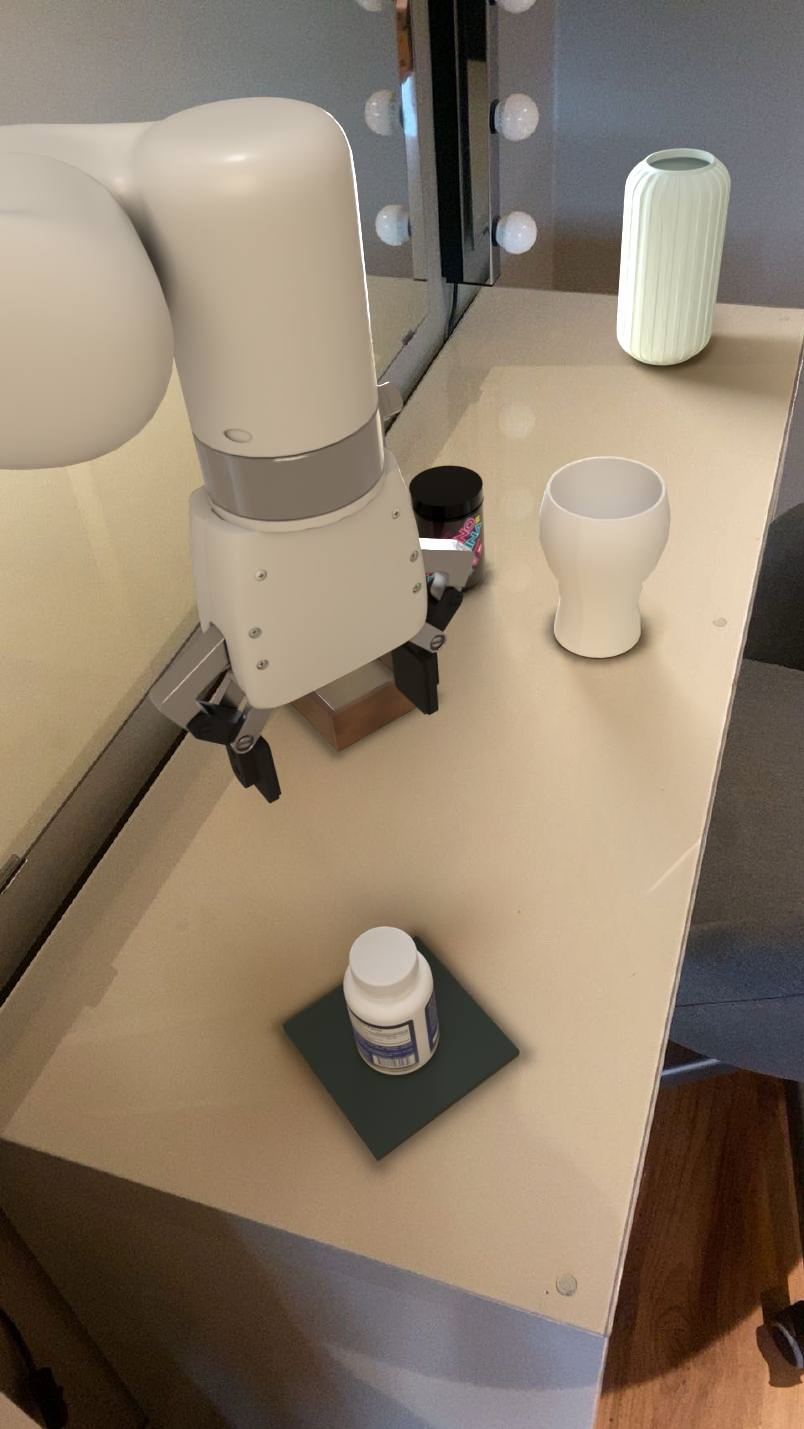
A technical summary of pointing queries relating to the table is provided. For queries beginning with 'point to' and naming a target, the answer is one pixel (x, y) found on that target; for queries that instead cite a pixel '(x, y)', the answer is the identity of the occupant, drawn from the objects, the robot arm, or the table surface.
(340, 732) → the crate
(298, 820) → the table surface
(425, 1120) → the pad
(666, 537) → the cup
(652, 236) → the vase
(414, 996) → the pill bottle
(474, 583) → the supplement container
